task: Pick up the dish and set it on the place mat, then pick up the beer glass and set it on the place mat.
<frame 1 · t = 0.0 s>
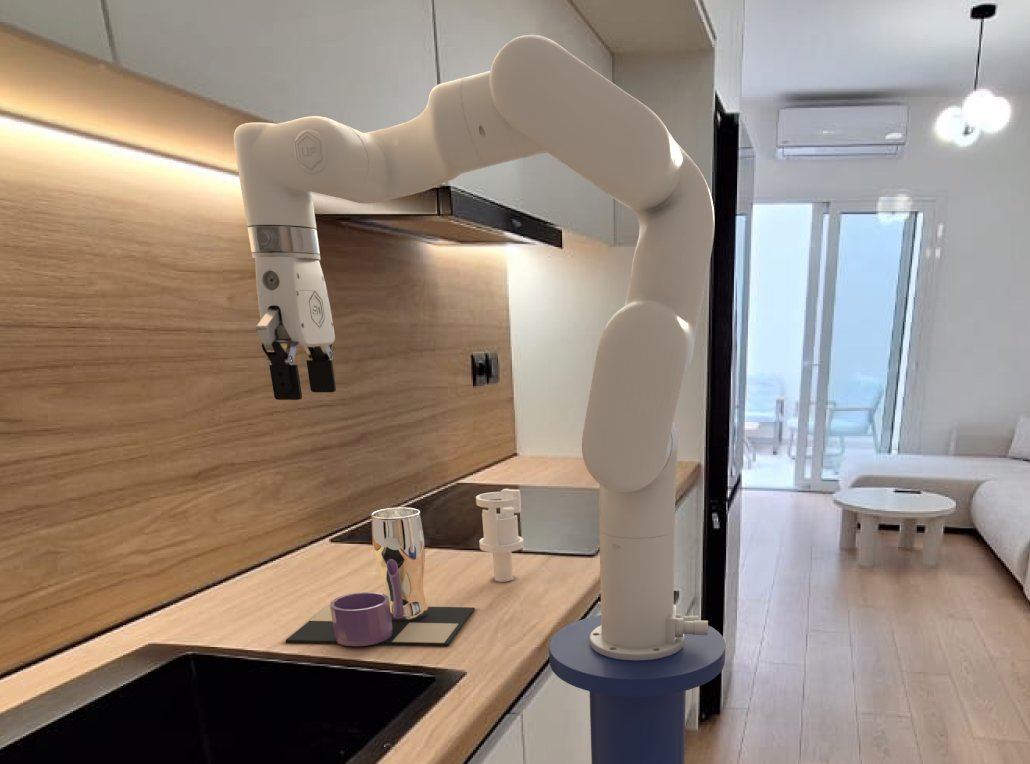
hand: (306, 395, 102), 31 cm above the worktop, tool pointing down, fingers open, 9 cm apart
place mat: (385, 625, 114), on the worktop
beer glass: (407, 615, 117), resting on place mat
white tall plastic stand: (503, 580, 134), on the worktop
dish: (364, 635, 109), on the worktop, touching place mat
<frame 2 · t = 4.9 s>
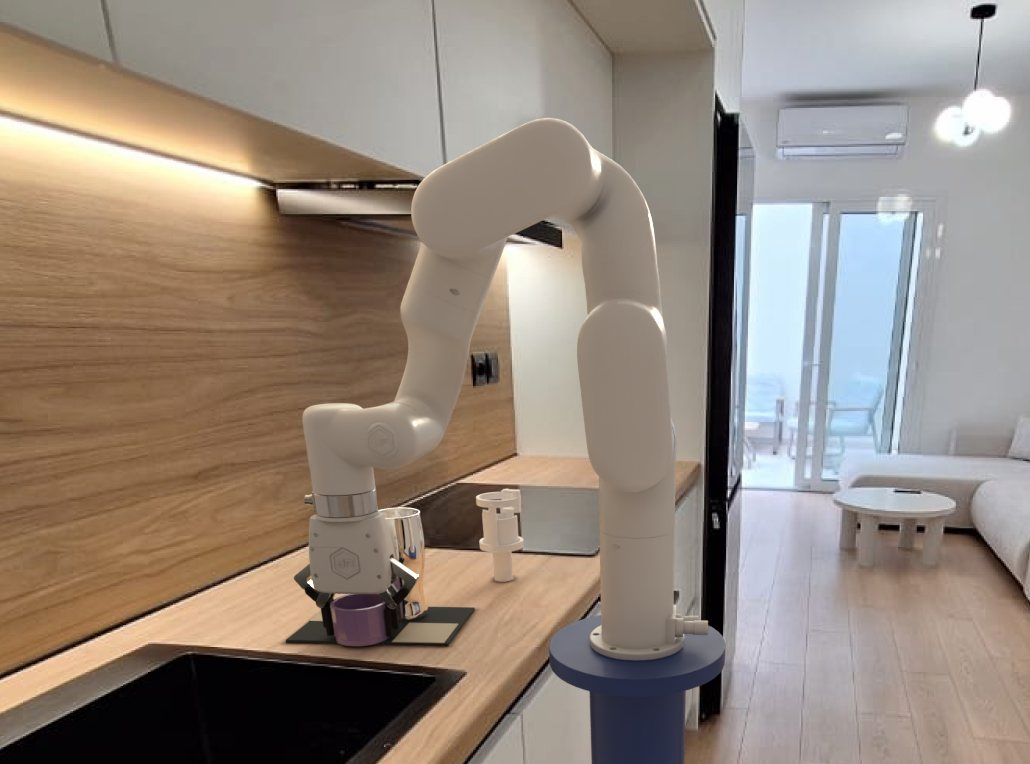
hand: (364, 632, 109), 1 cm above the worktop, tool pointing down, fingers closed on dish, 7 cm apart
dish: (364, 635, 109), on the worktop, touching gripper, place mat
everything else where it was.
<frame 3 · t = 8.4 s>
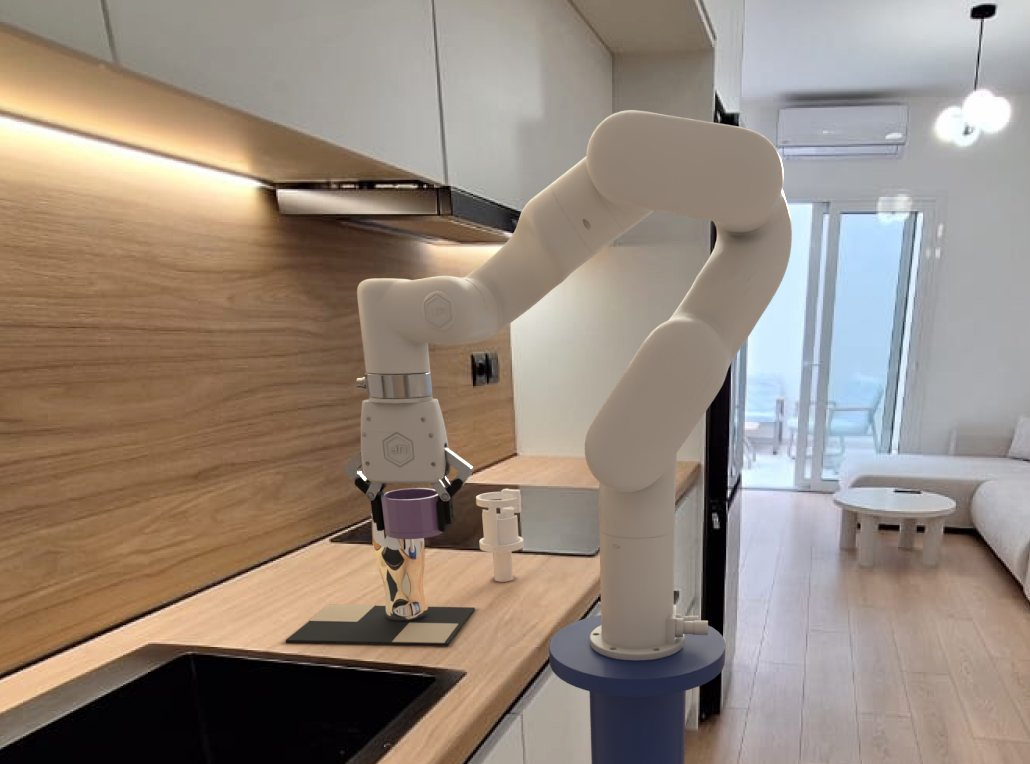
hand: (414, 528, 105), 15 cm above the worktop, tool pointing down, fingers closed on dish, 7 cm apart
dish: (415, 531, 105), point 15 cm above the worktop, touching gripper
everything else where it was.
when the fingers open (1 cm above the worktop, at t = 12.1 s): dish stays where it is, resting on place mat.
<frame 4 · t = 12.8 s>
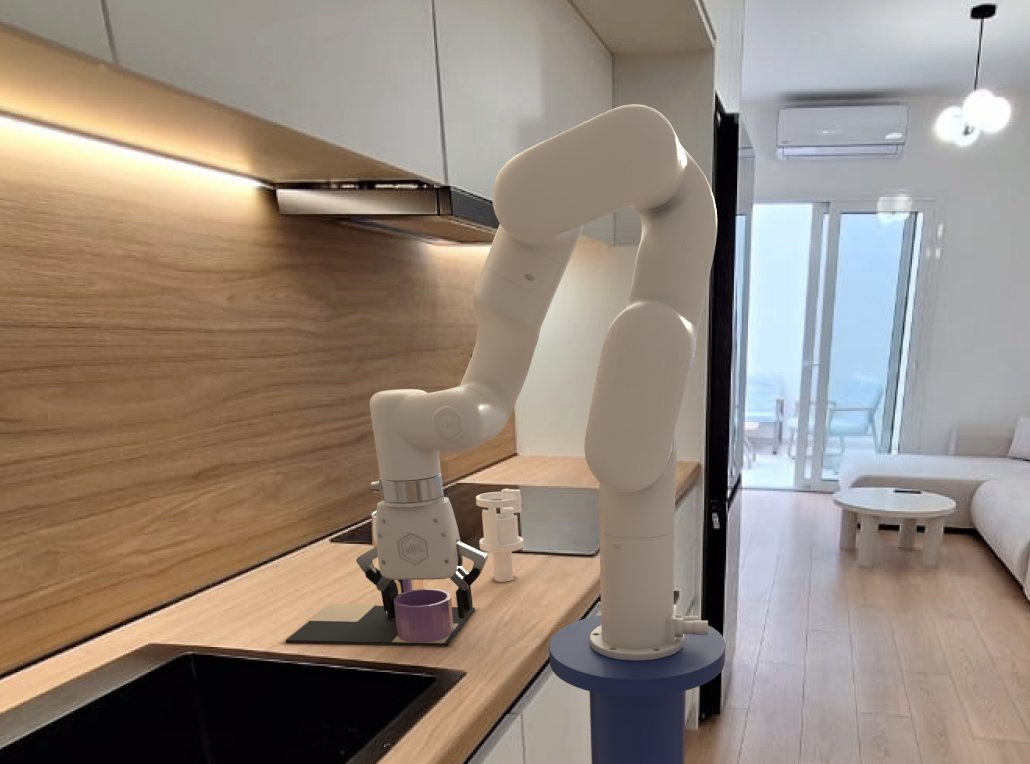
hand: (429, 615, 109), 3 cm above the worktop, tool pointing down, fingers open, 9 cm apart
dish: (425, 632, 110), point 1 cm above the worktop, touching gripper, place mat
everything else where it was.
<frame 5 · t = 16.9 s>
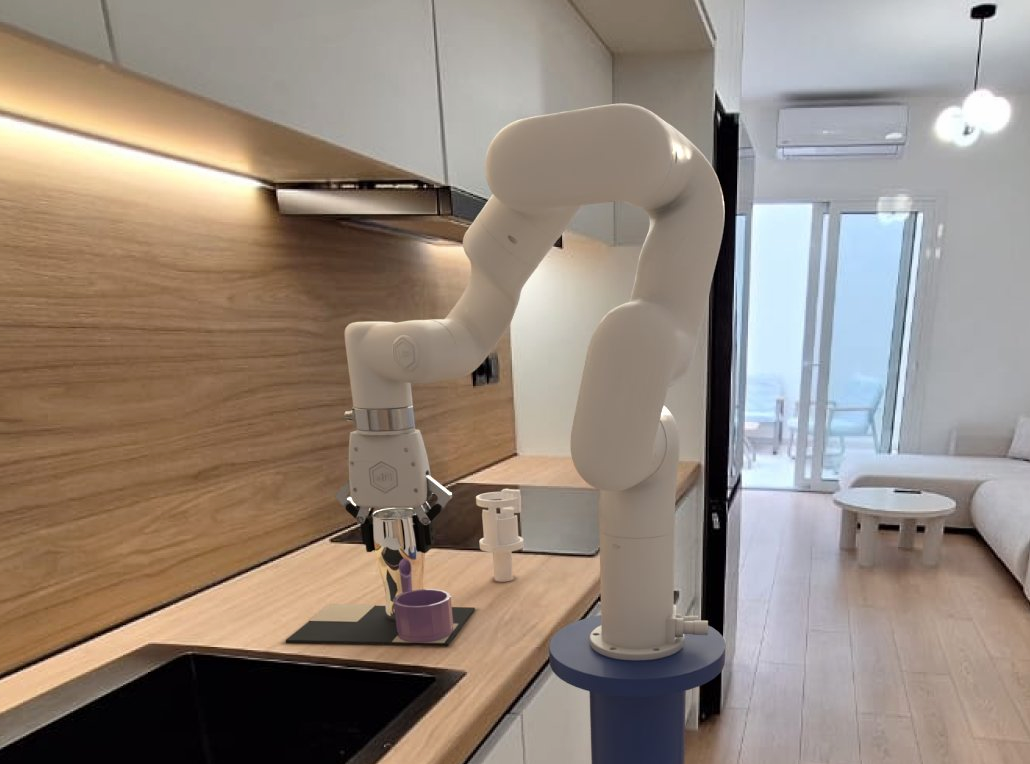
hand: (399, 549, 114), 10 cm above the worktop, tool pointing down, fingers closed on beer glass, 7 cm apart
beer glass: (407, 615, 117), resting on place mat, touching gripper
dish: (425, 632, 110), resting on place mat
everything else where it was.
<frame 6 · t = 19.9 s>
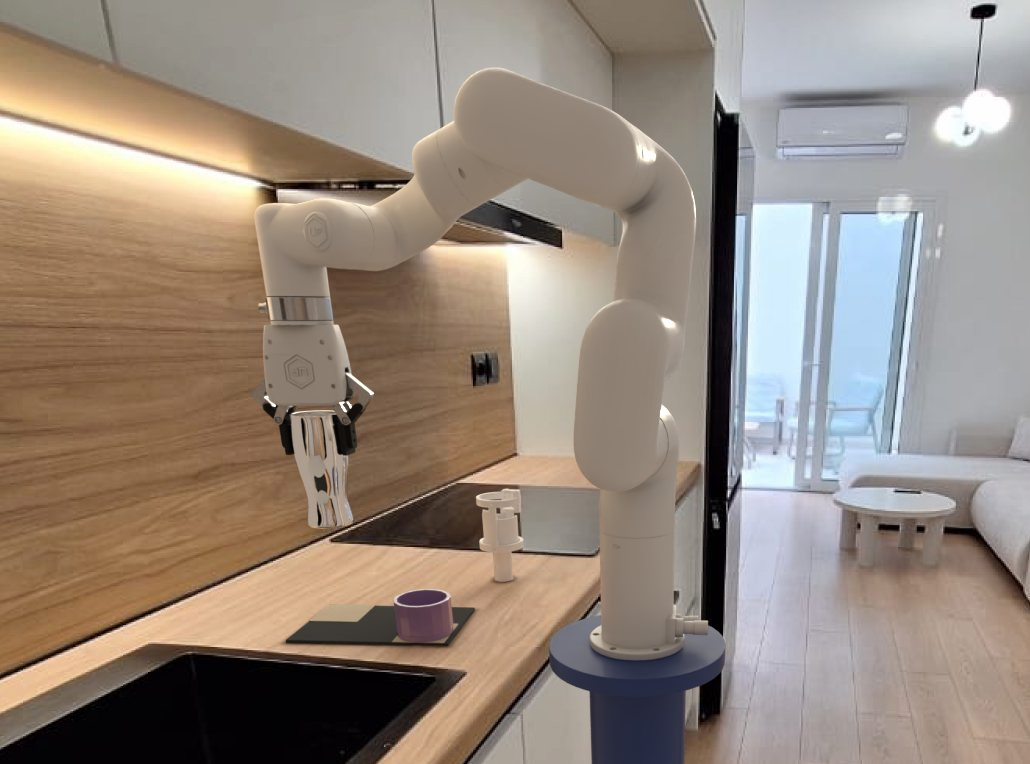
hand: (321, 452, 109), 24 cm above the worktop, tool pointing down, fingers closed on beer glass, 7 cm apart
beer glass: (331, 524, 113), point 14 cm above the worktop, touching gripper
everything else where it was.
when the fingers open (10 cm above the worktop, at t = 23.4 s): beer glass stays where it is, resting on place mat.
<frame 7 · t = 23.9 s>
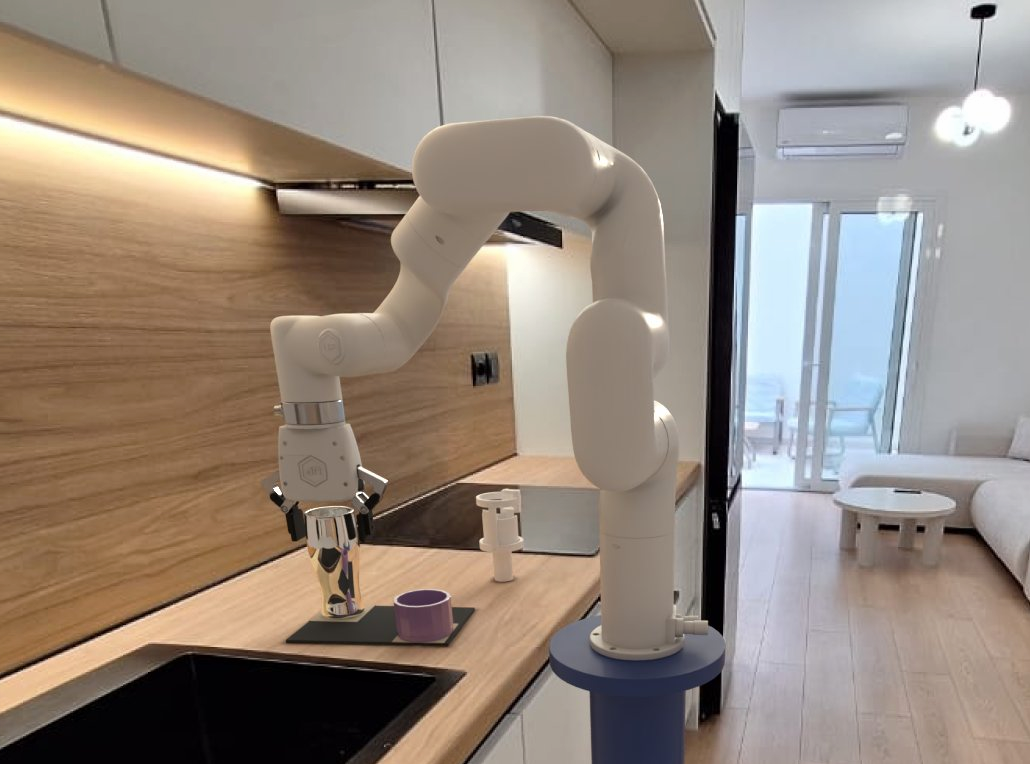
hand: (332, 539, 114), 11 cm above the worktop, tool pointing down, fingers open, 9 cm apart
beer glass: (343, 613, 118), resting on place mat
everything else where it was.
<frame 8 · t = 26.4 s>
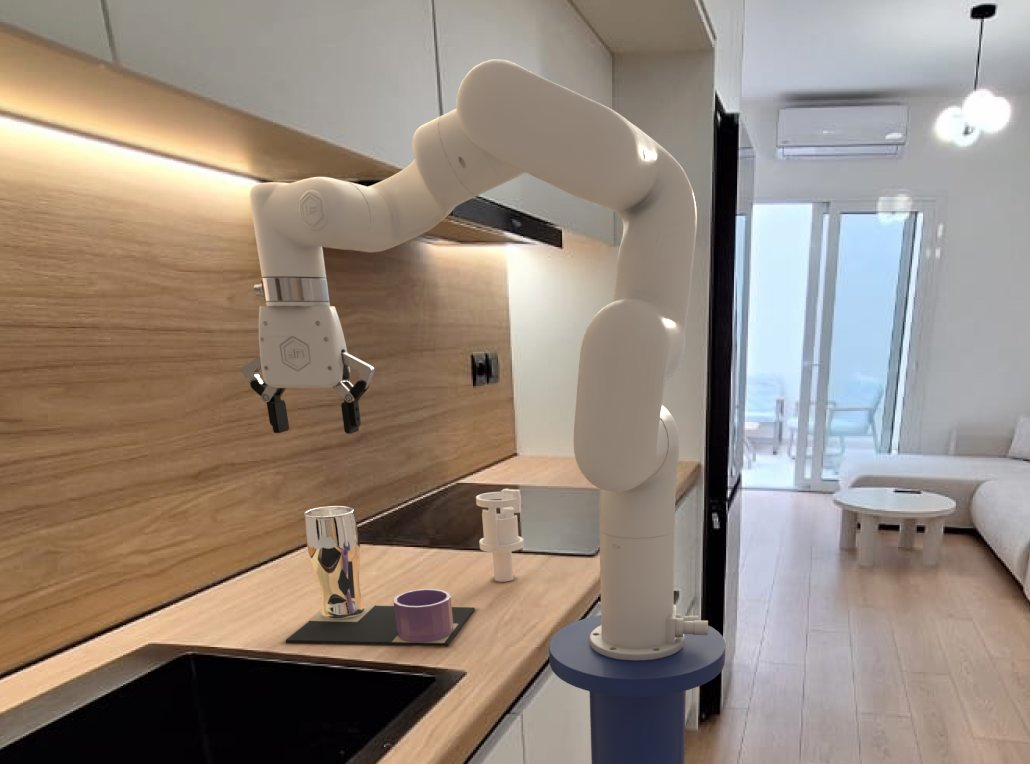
hand: (316, 432, 108), 26 cm above the worktop, tool pointing down, fingers open, 9 cm apart
nothing on the worktop moved.
at the end: dish 0.1 cm from the target spot, point 0.5 cm above the worktop; beer glass 0.1 cm from the target spot, resting on place mat; beer glass tilted 0° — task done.
